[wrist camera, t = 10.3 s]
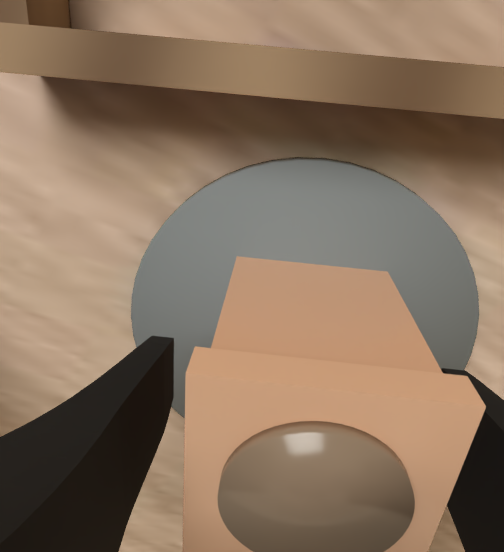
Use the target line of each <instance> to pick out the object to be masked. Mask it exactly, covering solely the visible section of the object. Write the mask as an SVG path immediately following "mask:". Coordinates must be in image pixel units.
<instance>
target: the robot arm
mask: <svg viewBox="0 0 504 552" xmlns="http://www.w3.org/2000/svg"><path fill="white" fill-rule="evenodd" d="M441 371H442V372H443V373H444V374H453V375H462V376H468V378H469V380H470V381H471V383H472V384H473V386H474V388H475V389H476V391H477V393H478V394H479V396H480V397H481V399H482V401H483V402H484V404H485V405H486V409H485V411H484V414H483V416H482V419H481V421H480V423H479V426H478V428H477V431H476V433H475V436H474V438H473V441H472V443H471V446H470V448H469V451H468V453H467V456H466V458H465V461H464V463H463V466H462V468H461V471H460V473H459V476H458V478H457V481H456V483H455V486H454V488H453V491H452V493H451V496H450V498H449V501H448V503H447V506H448V509H449V511H450V514H451V516H452V519H453V521H454V524H455V526H456V529H457V532H458V534H459V537H460V539H461V542H462V544H463V547H464V549H465V552H504V400H503V399H501V398H500V397H499V396H498V395H496V394H495V393H494V392H493V391H491V390H490V389H489V388H488V387H486V386H485V385H484V384H483V383H481V382H480V381H479V380H478V379H476V378H475V377H474V376H472V375H471V374H469V373H468V372H467V371H465V370H456V369H447V368H442V369H441ZM173 398H174V338H170V337H161V336H151V337H149V338H148V339H147V340H146V341H144V342H143V343H142V344H141V345H139V346H138V347H137V348H136V349H135V350H133V351H132V352H131V353H130V354H128V355H127V356H126V357H125V358H124V359H122V360H121V361H120V362H119V363H117V364H116V365H115V366H114V367H112V368H111V369H110V370H108V371H107V372H106V373H105V374H103V375H102V376H101V377H99V378H98V379H97V380H95V381H94V382H93V383H91V384H90V385H88V386H87V387H85V388H84V389H83V390H81V391H80V392H78V393H77V394H76V395H74V396H73V397H71V398H70V399H68V400H67V401H65V402H63V403H62V404H60V405H59V406H57V407H55V408H54V409H52V410H50V411H49V412H47V413H45V414H43V415H42V416H40V417H38V418H36V419H35V420H33V421H31V422H29V423H27V424H26V425H24V426H22V427H20V428H18V429H16V430H14V431H12V432H10V433H8V434H6V435H4V436H2V437H0V552H118V551H119V548H120V545H121V541H122V538H123V535H124V532H125V528H126V525H127V523H128V520H129V517H130V515H131V512H132V509H133V507H134V504H135V502H136V499H137V497H138V494H139V492H140V490H141V487H142V485H143V482H144V480H145V477H146V475H147V473H148V470H149V468H150V465H151V463H152V461H153V458H154V456H155V453H156V451H157V448H158V446H159V443H160V441H161V438H162V436H163V433H164V431H165V427H166V424H167V420H168V417H169V413H170V409H171V405H172V402H173Z"/></svg>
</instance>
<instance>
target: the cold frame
mask: <svg viewBox="0 0 504 552" xmlns="http://www.w3.org/2000/svg"><path fill="white" fill-rule="evenodd" d="M0 72H5V73H15V74H26V75H37V76H48V77H58V78H69V79H80V80H91V81H101V82H112V83H123V84H134V85H144V86H155V87H166V88H177V89H187V90H198V91H209V92H220V93H230V94H241V95H252V96H263V97H273V98H284V99H295V100H306V101H316V102H327V103H338V104H349V105H359V106H370V107H381V108H392V109H403V110H413V111H424V112H435V113H446V114H456V115H467V116H478V117H489V118H499V119H504V67H496V66H485V65H474V64H462V63H451V62H440V61H429V60H417V59H406V58H395V57H384V56H373V55H361V54H350V53H339V52H328V51H317V50H305V49H294V48H283V47H272V46H261V45H249V44H238V43H227V42H216V41H204V40H193V39H182V38H171V37H160V36H148V35H137V34H126V33H115V32H104V31H92V30H81V29H71V27H70V15H69V3H68V0H0Z"/></svg>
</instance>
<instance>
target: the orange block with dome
mask: <svg viewBox="0 0 504 552" xmlns="http://www.w3.org/2000/svg"><path fill="white" fill-rule="evenodd" d="M485 409H486V405H485V404H484V402H483V401H482V399H481V397H480V396H479V394H478V393H477V391H476V389H475V388H474V386H473V384H472V383H471V381H470V380H469V378H468V376H462V375H453V374H444V373H443V372H442V371H441V369H440V367H439V365H438V363H437V361H436V360H435V358H434V356H433V354H432V352H431V350H430V348H429V347H428V345H427V343H426V341H425V339H424V337H423V336H422V334H421V332H420V330H419V328H418V326H417V325H416V323H415V321H414V319H413V317H412V315H411V313H410V312H409V310H408V308H407V306H406V304H405V302H404V301H403V299H402V297H401V295H400V293H399V291H398V290H397V288H396V286H395V284H394V282H393V280H392V278H391V277H390V275H389V273H388V272H387V271H377V270H367V269H357V268H347V267H337V266H328V265H318V264H308V263H298V262H288V261H278V260H269V259H259V258H249V257H239V256H237V257H236V261H235V264H234V268H233V272H232V275H231V279H230V282H229V286H228V289H227V293H226V296H225V300H224V303H223V307H222V310H221V314H220V317H219V321H218V324H217V328H216V332H215V335H214V339H213V342H212V346H211V348H205V347H196V346H195V347H194V350H193V353H192V356H191V359H190V362H189V365H188V368H187V371H186V378H185V438H184V498H183V552H428V550H429V548H430V545H431V543H432V540H433V538H434V535H435V533H436V530H437V528H438V526H439V523H440V521H441V518H442V516H443V513H444V511H445V508H446V506H447V503H448V501H449V498H450V496H451V493H452V491H453V488H454V486H455V483H456V481H457V478H458V476H459V473H460V471H461V468H462V466H463V463H464V461H465V458H466V456H467V453H468V451H469V448H470V446H471V443H472V441H473V438H474V436H475V433H476V431H477V428H478V426H479V423H480V421H481V419H482V416H483V414H484V411H485Z"/></svg>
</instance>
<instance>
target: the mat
mask: <svg viewBox="0 0 504 552" xmlns="http://www.w3.org/2000/svg"><path fill="white" fill-rule="evenodd" d="M237 256H239V257H249V258H259V259H269V260H278V261H288V262H298V263H308V264H318V265H328V266H337V267H347V268H357V269H367V270H377V271H387V272H388V273H389V275H390V277H391V278H392V280H393V282H394V284H395V286H396V288H397V290H398V291H399V293H400V295H401V297H402V299H403V301H404V302H405V304H406V306H407V308H408V310H409V312H410V313H411V315H412V317H413V319H414V321H415V323H416V325H417V326H418V328H419V330H420V332H421V334H422V336H423V337H424V339H425V341H426V343H427V345H428V347H429V348H430V350H431V352H432V354H433V356H434V358H435V360H436V361H437V363H438V365H439V367H440V369H442V368H447V369H456V370H464V369H465V367H466V365H467V362H468V360H469V358H470V356H471V353H472V349H473V346H474V342H475V339H476V335H477V327H478V319H479V303H478V291H477V286H476V281H475V276H474V272H473V270H472V267H471V264H470V262H469V259H468V257H467V254H466V252H465V250H464V248H463V247H462V245H461V243H460V242H459V240H458V238H457V236H456V235H455V233H454V232H453V231H452V229H451V228H450V227H449V226H448V224H447V223H446V222H445V221H444V220H443V218H442V217H441V216H440V215H439V214H438V213H437V212H436V211H435V210H434V209H433V208H431V207H430V206H429V205H428V204H427V203H426V202H425V201H424V200H423V199H421V198H420V197H419V196H418V195H417V194H415V193H414V192H412V191H411V190H409V189H408V188H406V187H405V186H403V185H402V184H400V183H399V182H397V181H396V180H394V179H392V178H389V177H387V176H385V175H383V174H381V173H379V172H377V171H375V170H372V169H369V168H366V167H362V166H359V165H356V164H353V163H350V162H344V161H338V160H332V159H326V158H303V157H297V158H287V159H277V160H271V161H266V162H262V163H258V164H254V165H250V166H247V167H244V168H242V169H239V170H236V171H234V172H231V173H229V174H226V175H224V176H222V177H220V178H219V179H217V180H215V181H213V182H211V183H210V184H208V185H206V186H204V187H203V188H202V189H200V190H199V191H198V192H196V193H195V194H194V195H192V196H191V197H190V198H188V199H187V200H186V201H185V202H184V203H183V204H182V205H181V206H180V207H179V208H178V209H177V210H176V211H175V212H174V213H173V214H172V215H171V216H170V217H169V218H168V219H167V220H166V222H165V223H164V224H163V226H162V227H161V228H160V230H159V231H158V232H157V234H156V235H155V236H154V238H153V239H152V241H151V243H150V245H149V247H148V248H147V250H146V252H145V254H144V256H143V258H142V260H141V263H140V266H139V269H138V272H137V275H136V278H135V283H134V288H133V293H132V306H131V319H132V328H133V336H134V340H135V343H136V347H138V346H139V345H141V344H142V343H143V342H144V341H146V340H147V339H148V338H149V337H151V336H161V337H170V338H174V398H173V402H172V405H171V406H172V407H173V408H174V409H175V410H176V412H177V413H178V414H180V415H181V416H182V417H183V418H185V378H186V371H187V368H188V365H189V362H190V359H191V356H192V353H193V350H194V347H195V346H196V347H205V348H211V346H212V342H213V339H214V335H215V332H216V328H217V324H218V321H219V317H220V314H221V310H222V307H223V303H224V300H225V296H226V293H227V289H228V286H229V282H230V279H231V275H232V272H233V268H234V264H235V261H236V257H237Z"/></svg>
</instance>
